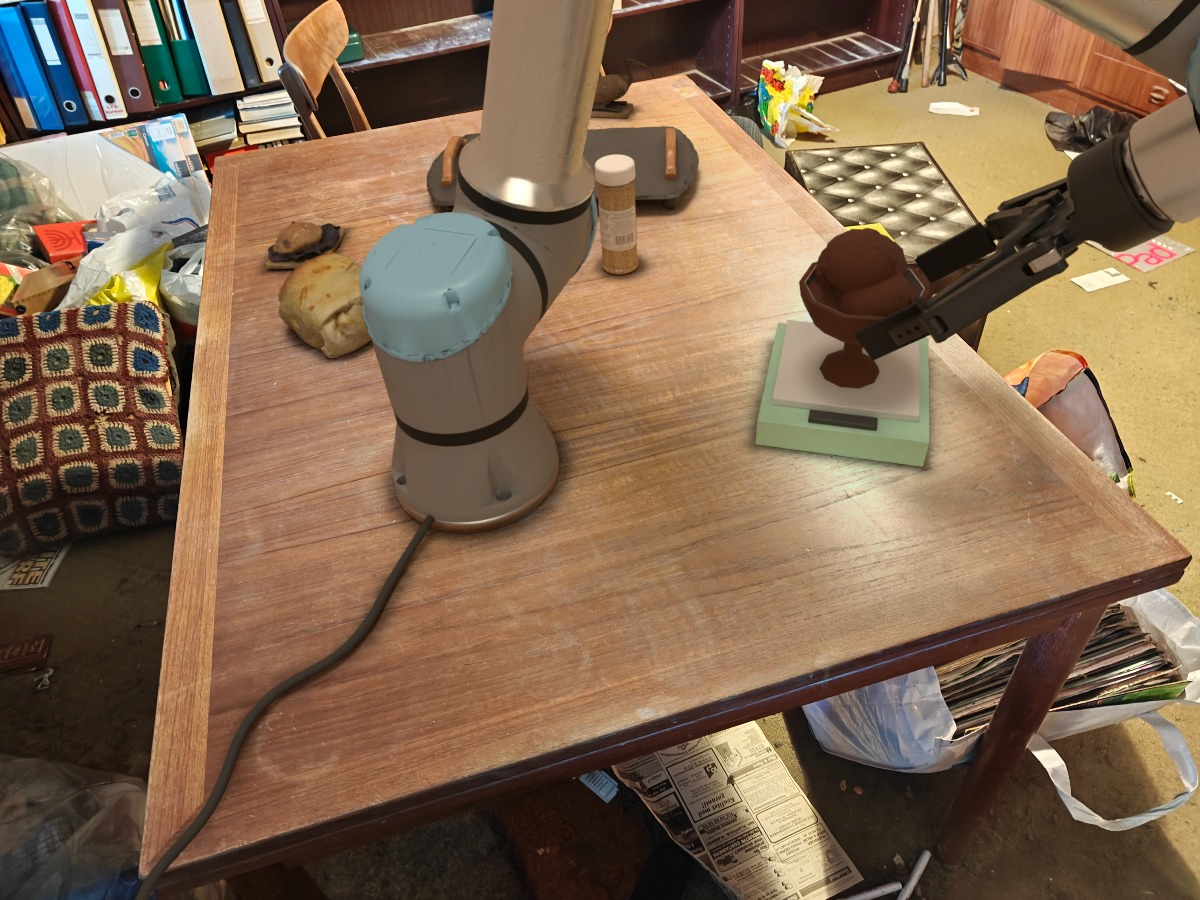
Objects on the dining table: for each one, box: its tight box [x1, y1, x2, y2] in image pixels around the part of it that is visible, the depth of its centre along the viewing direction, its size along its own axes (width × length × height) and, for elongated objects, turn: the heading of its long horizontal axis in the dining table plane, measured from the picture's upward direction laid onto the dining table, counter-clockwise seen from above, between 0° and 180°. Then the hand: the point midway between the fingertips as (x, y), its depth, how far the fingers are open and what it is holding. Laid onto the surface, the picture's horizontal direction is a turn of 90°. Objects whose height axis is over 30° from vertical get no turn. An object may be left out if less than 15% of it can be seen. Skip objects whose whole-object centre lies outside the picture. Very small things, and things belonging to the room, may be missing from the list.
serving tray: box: [426, 125, 700, 213], centre depth 121 cm, size 39×23×6 cm, turn 87°
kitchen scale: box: [754, 319, 931, 468], centre depth 83 cm, size 16×15×4 cm
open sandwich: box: [264, 221, 346, 270], centre depth 112 cm, size 11×8×4 cm
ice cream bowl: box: [798, 227, 931, 388], centre depth 76 cm, size 11×11×15 cm
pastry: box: [277, 251, 372, 359], centre depth 97 cm, size 14×12×8 cm
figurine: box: [590, 57, 655, 119], centre depth 138 cm, size 14×4×9 cm, turn 74°
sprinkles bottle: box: [595, 155, 639, 275], centre depth 101 cm, size 5×5×13 cm
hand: (895, 305), depth 74 cm, fingers open, 13 cm apart
